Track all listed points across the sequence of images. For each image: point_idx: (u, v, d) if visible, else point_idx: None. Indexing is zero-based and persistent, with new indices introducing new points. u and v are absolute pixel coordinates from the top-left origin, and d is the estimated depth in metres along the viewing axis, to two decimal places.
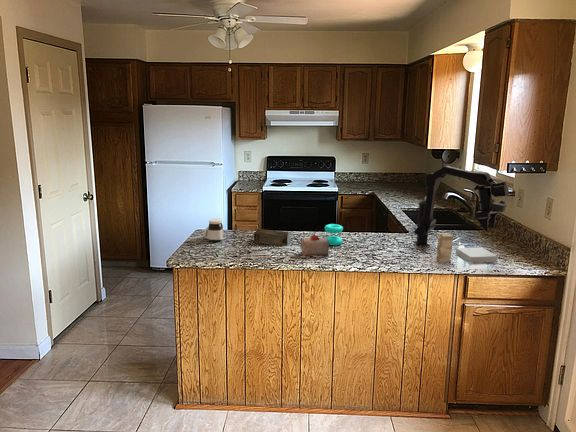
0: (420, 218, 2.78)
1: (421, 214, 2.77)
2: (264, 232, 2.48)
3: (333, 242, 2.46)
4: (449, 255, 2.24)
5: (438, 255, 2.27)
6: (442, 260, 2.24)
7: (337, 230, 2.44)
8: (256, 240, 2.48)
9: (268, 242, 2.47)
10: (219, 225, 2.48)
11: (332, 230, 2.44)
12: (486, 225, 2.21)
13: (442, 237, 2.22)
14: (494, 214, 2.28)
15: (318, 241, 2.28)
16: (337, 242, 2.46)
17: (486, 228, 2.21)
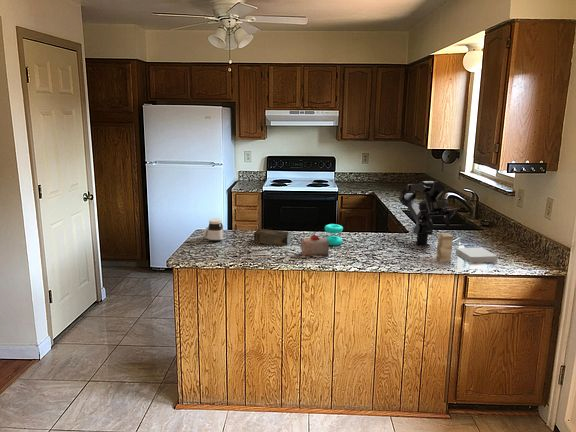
0: None
1: None
2: (264, 232, 2.48)
3: (333, 242, 2.46)
4: (449, 255, 2.24)
5: (438, 255, 2.27)
6: (442, 260, 2.24)
7: (337, 230, 2.44)
8: (256, 240, 2.49)
9: (268, 242, 2.47)
10: (219, 225, 2.48)
11: (332, 230, 2.44)
12: (428, 223, 2.31)
13: (442, 237, 2.22)
14: (447, 216, 2.34)
15: (318, 241, 2.28)
16: (337, 242, 2.46)
17: (430, 226, 2.31)
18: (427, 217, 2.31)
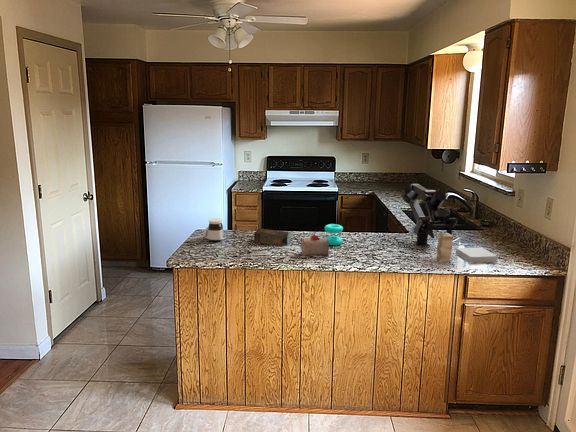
0: None
1: None
2: (264, 232, 2.49)
3: (333, 242, 2.46)
4: (449, 255, 2.24)
5: (438, 255, 2.27)
6: (442, 260, 2.24)
7: (337, 230, 2.44)
8: (256, 240, 2.49)
9: (268, 242, 2.48)
10: (219, 225, 2.48)
11: (332, 230, 2.44)
12: (430, 232, 2.28)
13: (442, 237, 2.22)
14: (449, 225, 2.31)
15: (318, 241, 2.28)
16: (337, 242, 2.46)
17: (431, 235, 2.28)
18: (428, 226, 2.28)
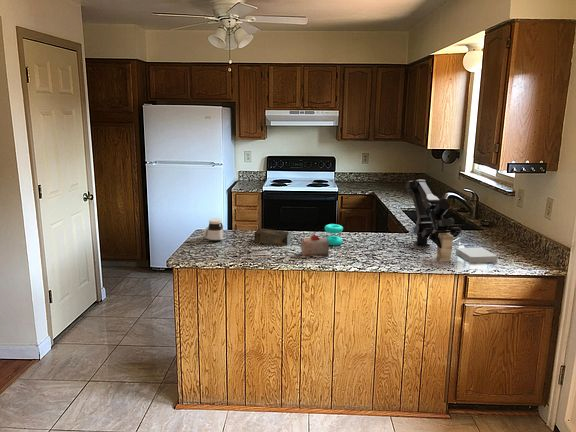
0: None
1: None
2: (265, 231, 2.49)
3: (333, 242, 2.46)
4: (449, 255, 2.24)
5: (438, 254, 2.27)
6: (442, 260, 2.24)
7: (337, 230, 2.44)
8: (257, 239, 2.50)
9: (268, 241, 2.48)
10: (219, 225, 2.48)
11: (332, 230, 2.44)
12: (437, 242, 2.25)
13: (442, 237, 2.22)
14: None
15: (318, 241, 2.28)
16: (337, 242, 2.46)
17: (438, 245, 2.24)
18: (436, 235, 2.25)
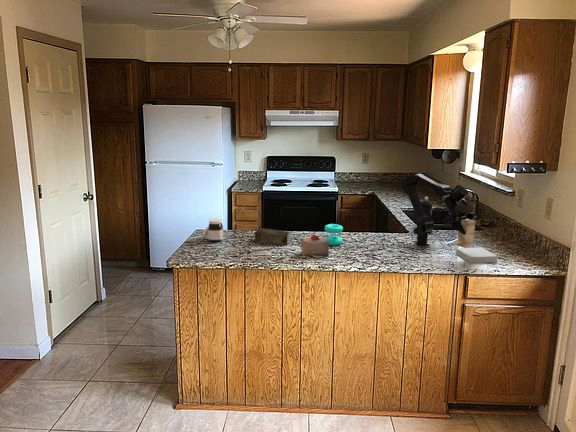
0: None
1: None
2: (265, 231, 2.50)
3: (333, 242, 2.46)
4: (472, 241, 2.24)
5: (461, 241, 2.25)
6: (466, 246, 2.23)
7: (337, 230, 2.44)
8: (257, 239, 2.50)
9: (268, 241, 2.48)
10: (219, 225, 2.48)
11: (332, 230, 2.44)
12: (461, 228, 2.22)
13: (466, 223, 2.21)
14: None
15: (318, 241, 2.28)
16: (337, 242, 2.46)
17: (463, 231, 2.22)
18: (459, 222, 2.22)
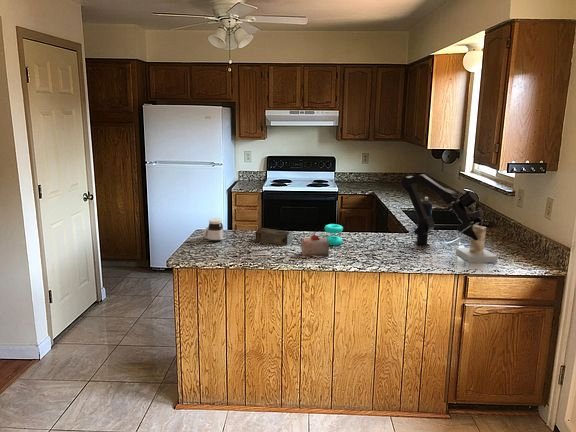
0: None
1: None
2: (265, 231, 2.50)
3: (333, 242, 2.46)
4: (483, 246, 2.29)
5: (473, 248, 2.28)
6: (480, 252, 2.27)
7: (337, 230, 2.44)
8: (257, 239, 2.51)
9: (269, 241, 2.49)
10: (219, 225, 2.48)
11: (332, 230, 2.44)
12: (473, 234, 2.24)
13: (480, 230, 2.24)
14: (479, 224, 2.32)
15: (318, 241, 2.28)
16: (337, 242, 2.46)
17: (475, 237, 2.24)
18: (471, 228, 2.24)
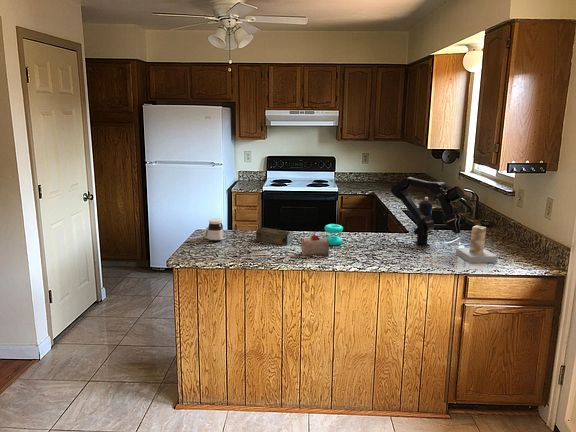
0: None
1: None
2: (266, 231, 2.51)
3: (333, 242, 2.46)
4: (483, 246, 2.29)
5: (473, 248, 2.28)
6: (480, 252, 2.27)
7: (337, 230, 2.44)
8: (258, 238, 2.52)
9: (269, 241, 2.50)
10: (219, 225, 2.48)
11: (332, 230, 2.44)
12: (455, 227, 2.29)
13: (480, 230, 2.24)
14: (457, 220, 2.39)
15: (318, 241, 2.28)
16: (337, 242, 2.46)
17: (455, 231, 2.29)
18: (455, 221, 2.29)
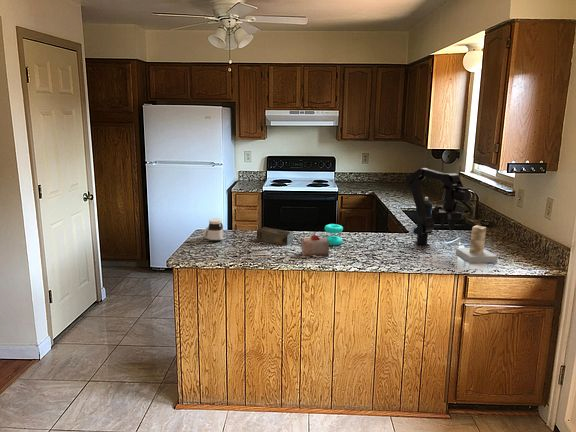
0: None
1: None
2: (266, 230, 2.51)
3: (333, 242, 2.46)
4: (483, 246, 2.29)
5: (473, 248, 2.28)
6: (480, 252, 2.27)
7: (337, 230, 2.44)
8: (258, 238, 2.53)
9: (269, 240, 2.50)
10: (219, 225, 2.48)
11: (332, 230, 2.44)
12: (453, 225, 2.30)
13: (480, 230, 2.24)
14: (445, 213, 2.39)
15: (318, 241, 2.28)
16: (337, 242, 2.46)
17: (452, 228, 2.30)
18: None
